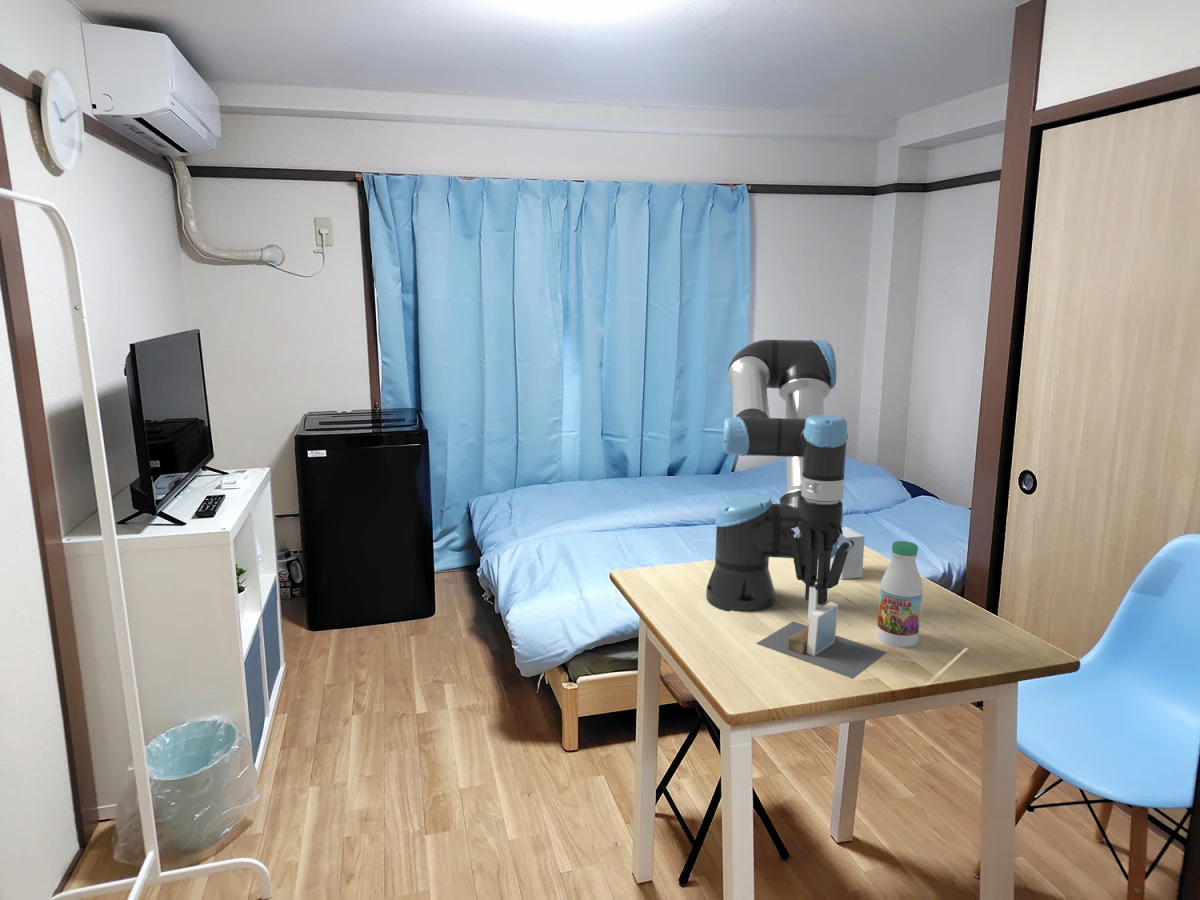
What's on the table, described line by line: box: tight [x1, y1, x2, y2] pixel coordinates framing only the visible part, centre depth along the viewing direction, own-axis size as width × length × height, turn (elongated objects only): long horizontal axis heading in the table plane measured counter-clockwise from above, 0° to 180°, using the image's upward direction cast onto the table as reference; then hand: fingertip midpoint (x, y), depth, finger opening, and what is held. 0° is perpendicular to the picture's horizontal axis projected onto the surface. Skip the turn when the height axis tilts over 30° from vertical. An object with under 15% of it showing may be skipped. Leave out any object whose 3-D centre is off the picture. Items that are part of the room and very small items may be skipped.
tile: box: [807, 601, 839, 656], centre depth 149 cm, size 2×8×8 cm, turn 136°
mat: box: [755, 621, 888, 679], centre depth 150 cm, size 20×14×1 cm
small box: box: [830, 526, 865, 580], centre depth 188 cm, size 8×6×10 cm
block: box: [788, 625, 809, 655], centre depth 151 cm, size 3×10×2 cm, turn 136°
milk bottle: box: [876, 540, 923, 648], centre depth 152 cm, size 8×8×20 cm
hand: (814, 618), depth 149 cm, fingers closed
